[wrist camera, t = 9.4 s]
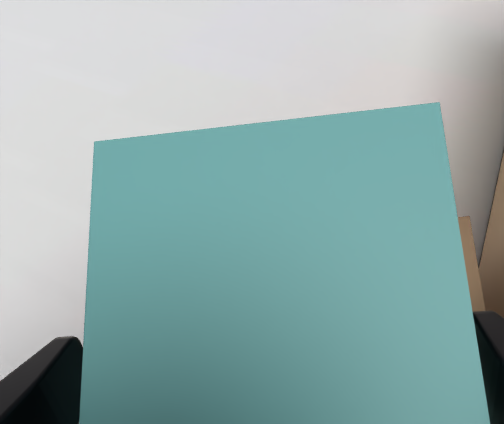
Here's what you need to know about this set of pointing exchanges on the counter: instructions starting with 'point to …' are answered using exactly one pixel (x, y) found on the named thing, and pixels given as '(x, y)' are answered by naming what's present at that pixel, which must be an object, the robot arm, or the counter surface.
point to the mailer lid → (280, 276)
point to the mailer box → (494, 253)
